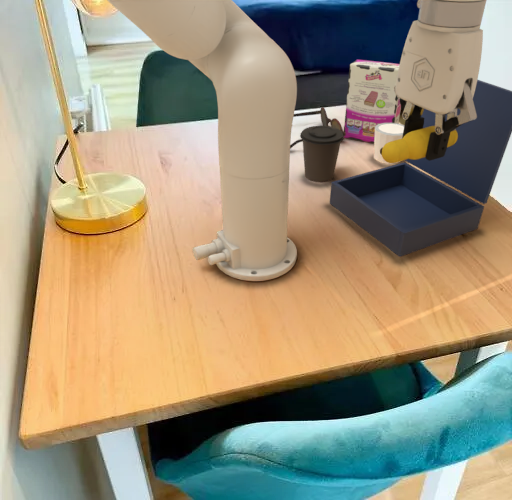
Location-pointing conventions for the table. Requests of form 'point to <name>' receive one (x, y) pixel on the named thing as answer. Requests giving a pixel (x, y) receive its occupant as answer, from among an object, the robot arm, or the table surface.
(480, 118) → the lid
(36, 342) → the table surface
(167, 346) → the table surface
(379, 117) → the candy bar box
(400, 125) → the white short cylinder
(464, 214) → the blue shallow open box
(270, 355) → the table surface
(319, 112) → the eyeglasses
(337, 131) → the coffee cup
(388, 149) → the yellow lobed rod
